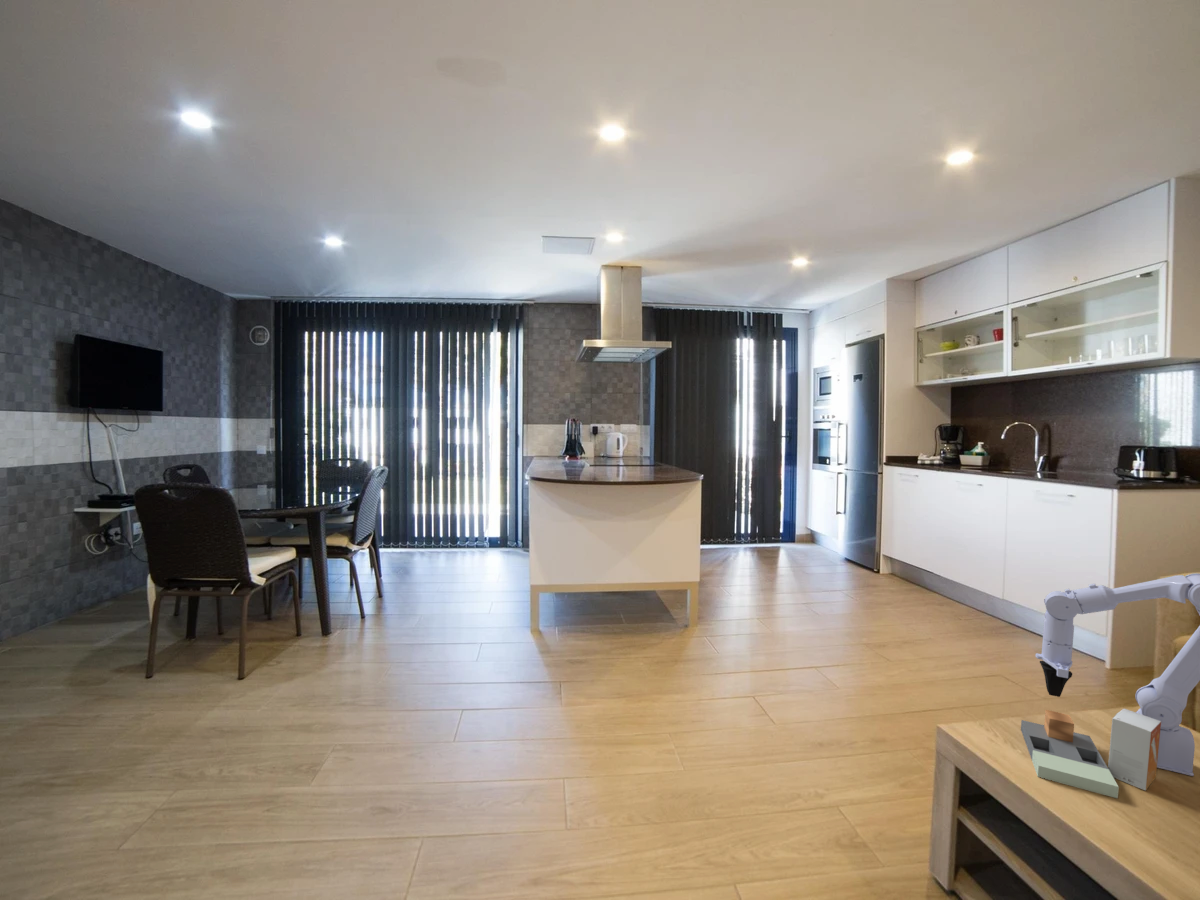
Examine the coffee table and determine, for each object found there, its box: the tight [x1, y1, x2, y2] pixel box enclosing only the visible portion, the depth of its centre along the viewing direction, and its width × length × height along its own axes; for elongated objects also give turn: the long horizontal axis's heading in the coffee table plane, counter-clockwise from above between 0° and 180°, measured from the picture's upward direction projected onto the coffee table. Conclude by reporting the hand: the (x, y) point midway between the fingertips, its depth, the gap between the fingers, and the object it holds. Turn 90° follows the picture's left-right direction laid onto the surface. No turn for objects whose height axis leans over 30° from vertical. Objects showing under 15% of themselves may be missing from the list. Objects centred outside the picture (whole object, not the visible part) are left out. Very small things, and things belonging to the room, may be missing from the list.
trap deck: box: [1020, 719, 1120, 799], centre depth 124 cm, size 13×21×2 cm, turn 150°
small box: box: [1107, 708, 1161, 791], centre depth 119 cm, size 8×6×13 cm
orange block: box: [1043, 709, 1075, 743], centre depth 130 cm, size 4×4×4 cm
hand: (1053, 694), depth 136 cm, fingers closed
